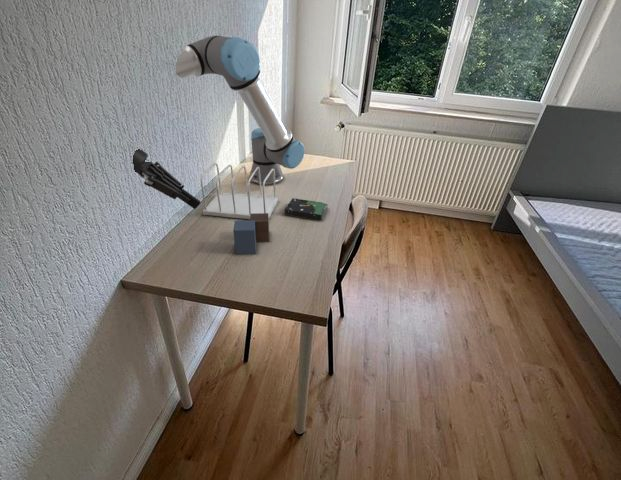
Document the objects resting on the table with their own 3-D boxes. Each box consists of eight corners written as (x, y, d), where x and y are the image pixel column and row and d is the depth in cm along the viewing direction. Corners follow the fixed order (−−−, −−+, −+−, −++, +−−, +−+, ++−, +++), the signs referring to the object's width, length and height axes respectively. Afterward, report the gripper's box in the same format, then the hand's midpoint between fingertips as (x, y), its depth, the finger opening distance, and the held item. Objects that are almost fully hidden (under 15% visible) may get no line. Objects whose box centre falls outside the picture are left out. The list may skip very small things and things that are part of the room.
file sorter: (278, 201, 143) (277, 165, 135) (267, 222, 129) (265, 183, 120) (219, 195, 146) (215, 159, 137) (203, 215, 132) (197, 177, 123)
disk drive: (284, 215, 134) (321, 221, 131) (284, 209, 132) (322, 214, 129) (292, 203, 142) (327, 208, 139) (292, 197, 141) (327, 202, 138)
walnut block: (251, 233, 122) (250, 213, 118) (269, 232, 123) (268, 213, 118) (251, 242, 118) (249, 221, 113) (269, 241, 118) (268, 221, 114)
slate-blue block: (237, 243, 116) (234, 220, 112) (256, 243, 117) (254, 220, 112) (235, 254, 112) (233, 230, 107) (255, 253, 112) (254, 230, 107)
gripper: (125, 157, 104) (192, 203, 116) (114, 174, 94) (188, 223, 106) (140, 139, 102) (206, 188, 114) (130, 154, 92) (204, 207, 104)
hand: (197, 205), depth 110 cm, fingers closed
